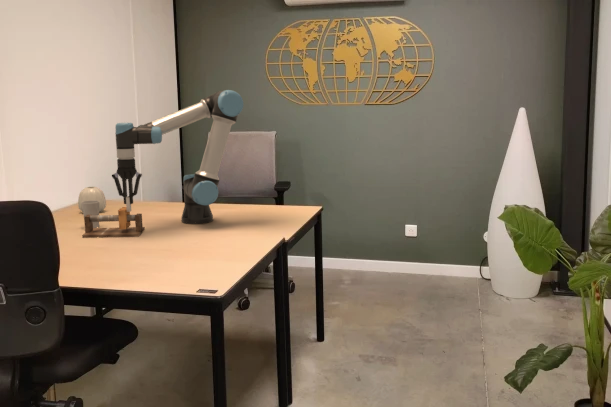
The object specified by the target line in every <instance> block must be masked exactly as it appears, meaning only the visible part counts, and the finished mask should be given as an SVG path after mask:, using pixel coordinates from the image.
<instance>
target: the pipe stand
mask: <svg viewBox="0 0 611 407" xmlns="http://www.w3.org/2000/svg"><path fill="white" fill-rule="evenodd" d="M142 214H143V213H136V214H130V215H127V221H130V222H134V223H135V225H134V226H129V227H128V228H127V229H119V227H98V228H93V222H99V223H100V222H102V223H103V222H104V223H105V222H106V223H107V222H119V216H118V214H111V215H110V214H105V215H104V214H103V215H101V214H99V215H93V216H92V215H86V216H85V217H84V216H83V220H84V221H83V222H84V231H85V232H84V233H83V234H82V238H83V239H85V238H86V239H89V238H91V239H92V238H93V239H95V238H97V237H99V238H131V237H132V238H133V237H134V238H135V237H139V236H140V235H142V234H143V232H144V231H145V230H146V228H145V226H144V225H143V215H142Z"/></svg>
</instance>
